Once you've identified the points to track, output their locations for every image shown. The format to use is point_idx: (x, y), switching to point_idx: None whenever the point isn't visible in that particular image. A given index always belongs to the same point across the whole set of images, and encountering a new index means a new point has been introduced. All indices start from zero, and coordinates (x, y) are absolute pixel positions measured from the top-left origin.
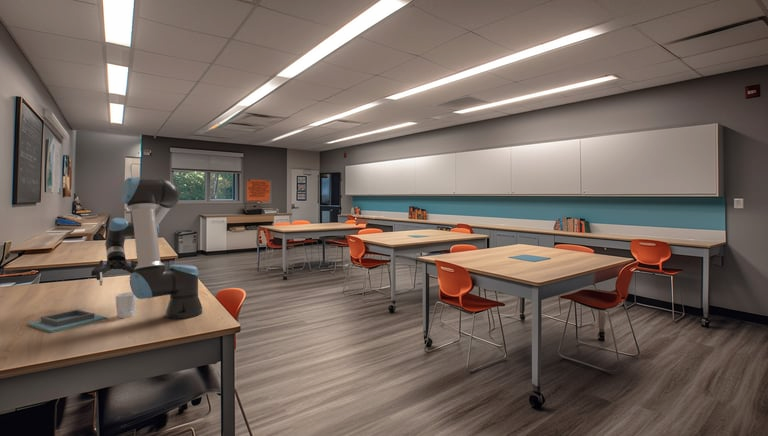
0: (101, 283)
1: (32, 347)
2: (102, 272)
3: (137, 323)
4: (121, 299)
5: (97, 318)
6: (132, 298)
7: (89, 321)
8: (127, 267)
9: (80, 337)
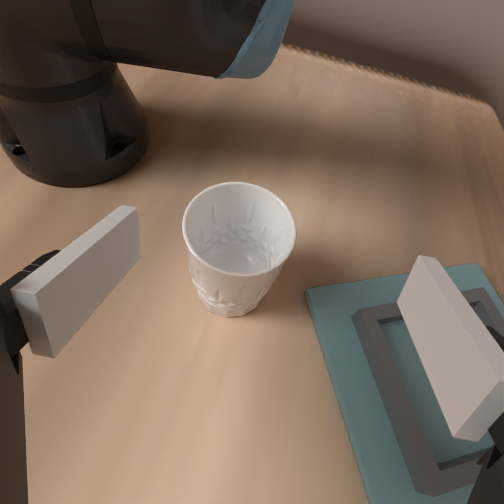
0: (410, 284)
1: (484, 177)
2: (489, 483)
3: (241, 163)
4: (273, 207)
5: (341, 296)
6: (221, 197)
7: (369, 279)
8: (2, 498)
9: (391, 164)
